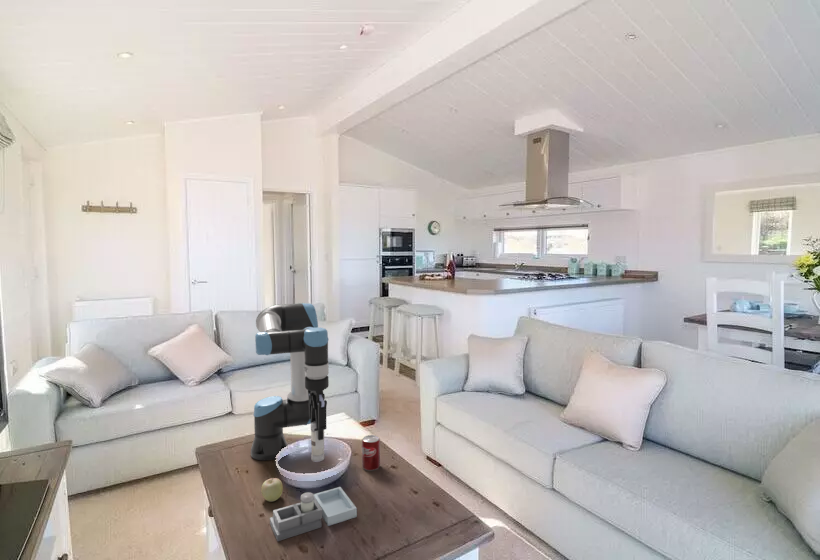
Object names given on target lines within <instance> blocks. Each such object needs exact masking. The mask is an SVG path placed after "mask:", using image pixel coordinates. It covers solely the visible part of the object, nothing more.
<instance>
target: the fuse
mask: <svg viewBox="0 0 820 560" xmlns="http://www.w3.org/2000/svg"><path fill="white" fill-rule="evenodd" d="M314 429H316V421H315V422H312V423H311V424H310V435H311V437H310V438H311V440H310V441H311V442H310V444H311V447H310V448H311V453H310V455H311V456H310V457H311V461H312V462H314V463H319V462H322V461H324V460H325V447H324V448H321V449H317V450H316V444H315V431H314Z"/></svg>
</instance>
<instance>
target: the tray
mask: <svg viewBox="0 0 820 560" xmlns="http://www.w3.org/2000/svg"><path fill="white" fill-rule="evenodd" d="M313 494H314V498H315V499H316V501H317V502H318V504H319V506H320V507H321V509H322V519H323V520H324V522H325V523H326V524H325V525H326V526H327V527H330V526H332V525H336V524H338V523H342V522H345V521H347V520H348V521H349V520H350V519H351V520H352V519H354V518H357V517H358V516H357V515H358V510H357V509H358V508H357V507H356V505H355V503H354V502H353V501H352V500H351V498H350V497H349V496H348V494H347V493H346V492H345V491H344V490H343V488H342V487H341V486H338V487H334V488H331V489H328V490H324V491H321V492H317V493H313Z"/></svg>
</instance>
